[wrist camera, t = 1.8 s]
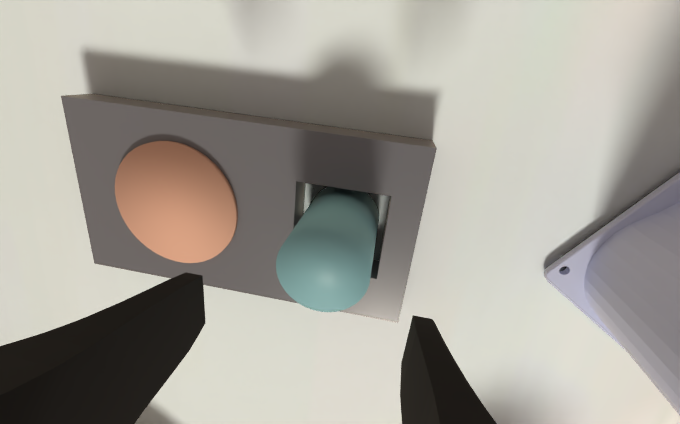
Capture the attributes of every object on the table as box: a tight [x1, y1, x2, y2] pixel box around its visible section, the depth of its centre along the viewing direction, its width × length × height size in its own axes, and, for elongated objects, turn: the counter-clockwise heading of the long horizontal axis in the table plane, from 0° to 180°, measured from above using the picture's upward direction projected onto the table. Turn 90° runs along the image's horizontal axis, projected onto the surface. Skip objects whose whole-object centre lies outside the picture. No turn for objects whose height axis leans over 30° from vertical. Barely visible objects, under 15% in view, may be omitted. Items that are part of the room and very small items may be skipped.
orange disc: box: [115, 141, 238, 263], centre depth 19 cm, size 7×7×1 cm
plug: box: [276, 187, 379, 312], centre depth 17 cm, size 4×4×6 cm
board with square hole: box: [61, 94, 436, 323], centre depth 19 cm, size 19×10×2 cm, turn 84°
